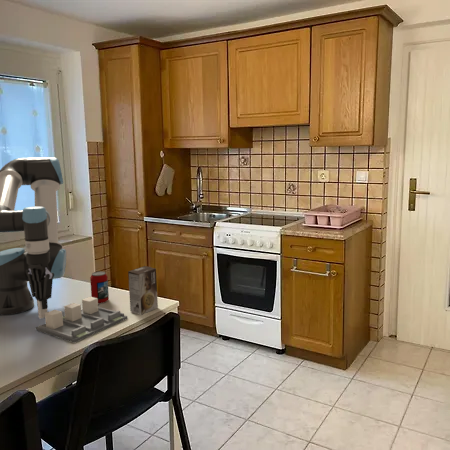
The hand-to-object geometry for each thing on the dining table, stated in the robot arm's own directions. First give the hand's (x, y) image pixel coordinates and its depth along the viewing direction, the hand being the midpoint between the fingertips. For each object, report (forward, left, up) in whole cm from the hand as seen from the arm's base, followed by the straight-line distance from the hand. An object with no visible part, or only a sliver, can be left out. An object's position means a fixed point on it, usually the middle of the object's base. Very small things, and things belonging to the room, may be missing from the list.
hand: (43, 317), depth 159 cm
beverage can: (-2, +28, -4) cm, 29 cm away
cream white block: (+6, +16, -2) cm, 17 cm away
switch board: (+11, +8, -3) cm, 14 cm away
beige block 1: (+6, 0, -2) cm, 6 cm away
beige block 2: (+6, +8, -2) cm, 10 cm away
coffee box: (+20, +30, -4) cm, 36 cm away
